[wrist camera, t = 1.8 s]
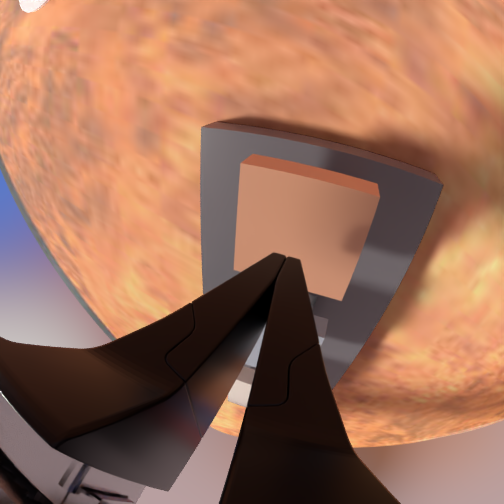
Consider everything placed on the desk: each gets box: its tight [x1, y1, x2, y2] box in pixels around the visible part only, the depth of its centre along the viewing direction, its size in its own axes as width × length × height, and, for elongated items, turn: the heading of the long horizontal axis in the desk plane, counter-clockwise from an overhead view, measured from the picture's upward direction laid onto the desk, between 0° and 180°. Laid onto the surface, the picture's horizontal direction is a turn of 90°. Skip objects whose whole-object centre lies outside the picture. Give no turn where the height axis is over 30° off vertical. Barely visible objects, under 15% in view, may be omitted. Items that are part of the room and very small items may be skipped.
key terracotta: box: [234, 154, 380, 301], centre depth 10 cm, size 4×4×2 cm
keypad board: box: [200, 122, 443, 389], centre depth 17 cm, size 19×11×2 cm, turn 175°
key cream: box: [228, 366, 256, 407], centre depth 19 cm, size 4×4×2 cm
